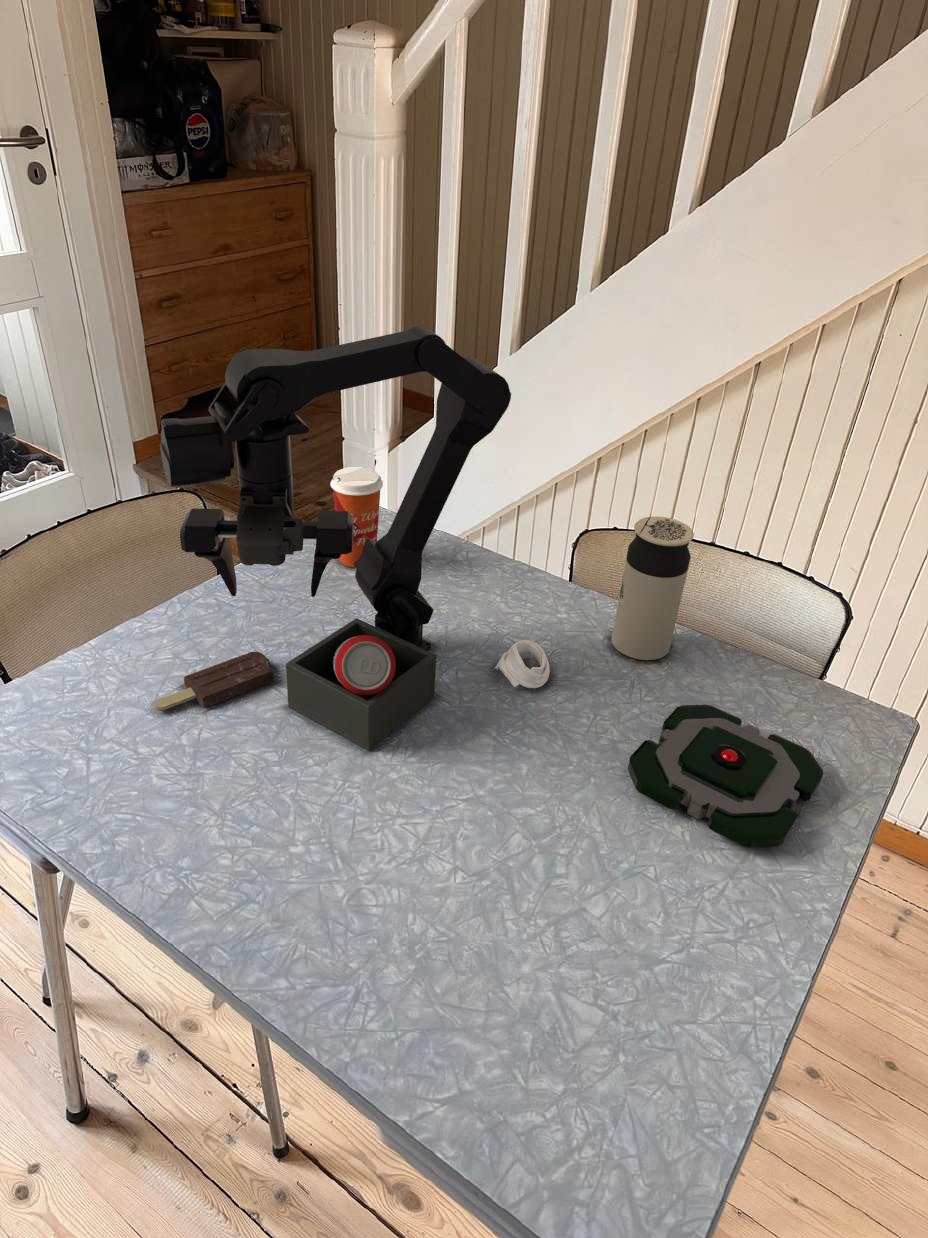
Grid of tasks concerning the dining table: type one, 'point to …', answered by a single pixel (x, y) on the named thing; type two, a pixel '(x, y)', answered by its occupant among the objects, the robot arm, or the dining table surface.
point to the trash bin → (352, 713)
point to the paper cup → (358, 505)
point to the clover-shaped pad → (726, 774)
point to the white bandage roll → (518, 671)
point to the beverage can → (364, 664)
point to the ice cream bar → (222, 681)
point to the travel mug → (652, 587)
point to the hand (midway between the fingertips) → (274, 594)
